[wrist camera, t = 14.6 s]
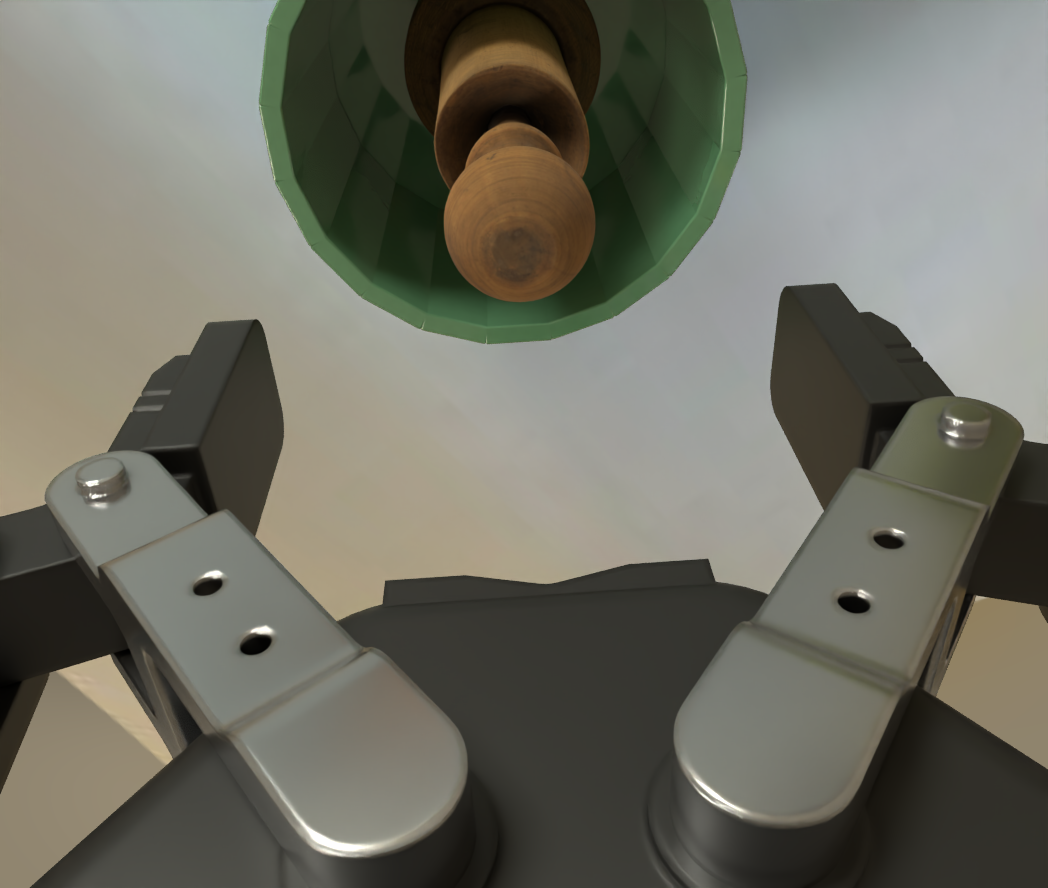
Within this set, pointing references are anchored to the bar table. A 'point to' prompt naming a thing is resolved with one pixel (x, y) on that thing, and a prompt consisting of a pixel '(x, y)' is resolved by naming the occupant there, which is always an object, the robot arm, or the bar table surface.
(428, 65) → the brown knobbed turned figurine
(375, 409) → the bar table surface
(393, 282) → the cup
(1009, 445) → the robot arm
